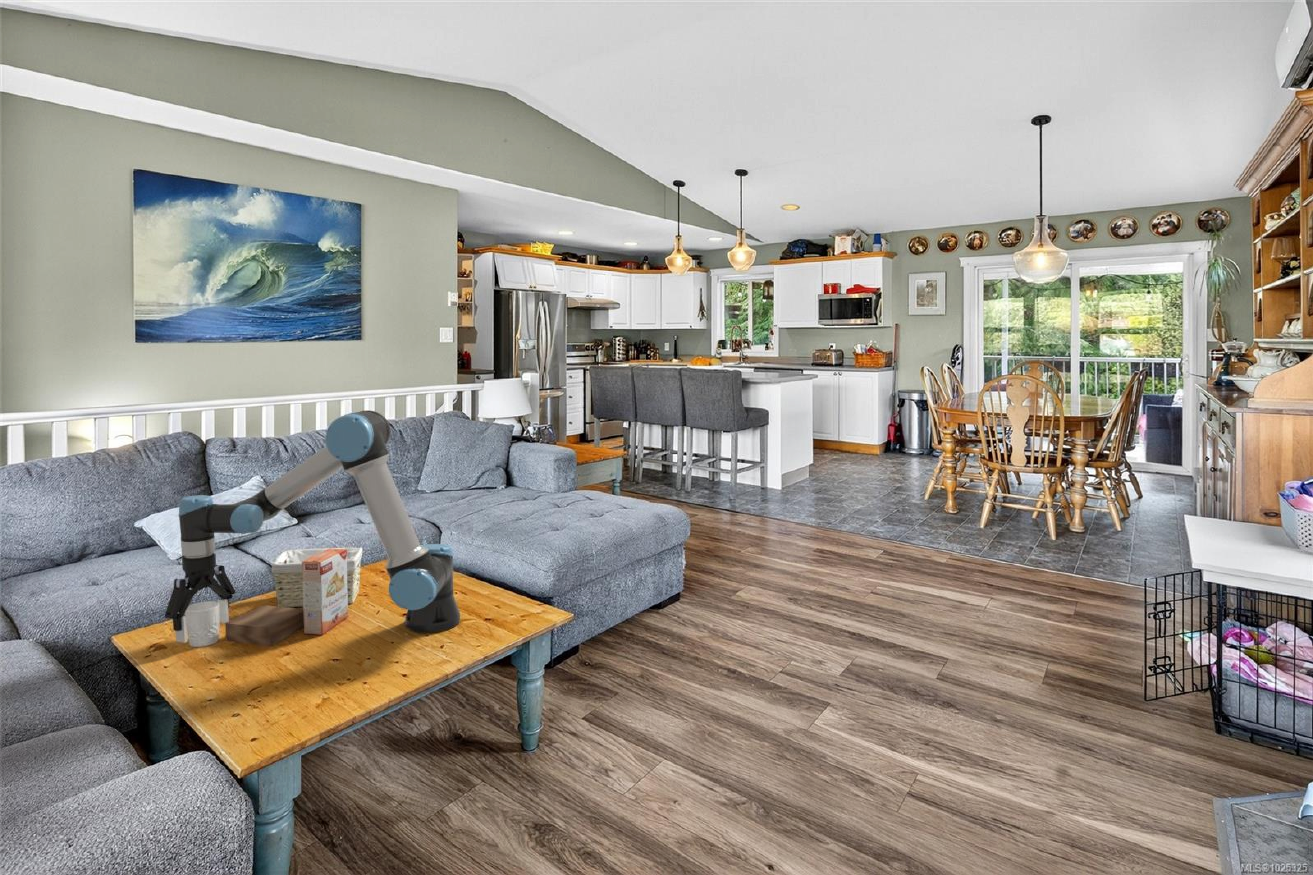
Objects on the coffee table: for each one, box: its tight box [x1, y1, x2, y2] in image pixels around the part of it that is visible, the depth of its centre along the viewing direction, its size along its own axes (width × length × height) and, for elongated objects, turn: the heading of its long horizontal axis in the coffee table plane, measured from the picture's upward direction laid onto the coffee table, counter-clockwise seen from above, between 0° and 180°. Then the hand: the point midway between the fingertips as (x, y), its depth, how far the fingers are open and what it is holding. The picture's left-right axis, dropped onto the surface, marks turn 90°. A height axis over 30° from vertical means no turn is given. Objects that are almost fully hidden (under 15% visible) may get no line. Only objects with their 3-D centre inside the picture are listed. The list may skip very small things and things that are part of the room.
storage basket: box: [271, 547, 363, 608], centre depth 224 cm, size 24×16×15 cm
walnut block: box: [224, 604, 304, 647], centre depth 197 cm, size 14×14×5 cm
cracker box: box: [302, 547, 349, 636], centre depth 202 cm, size 14×6×21 cm, turn 175°
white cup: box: [184, 600, 220, 648], centre depth 191 cm, size 8×8×10 cm
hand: (203, 631), depth 191 cm, fingers open, 13 cm apart
